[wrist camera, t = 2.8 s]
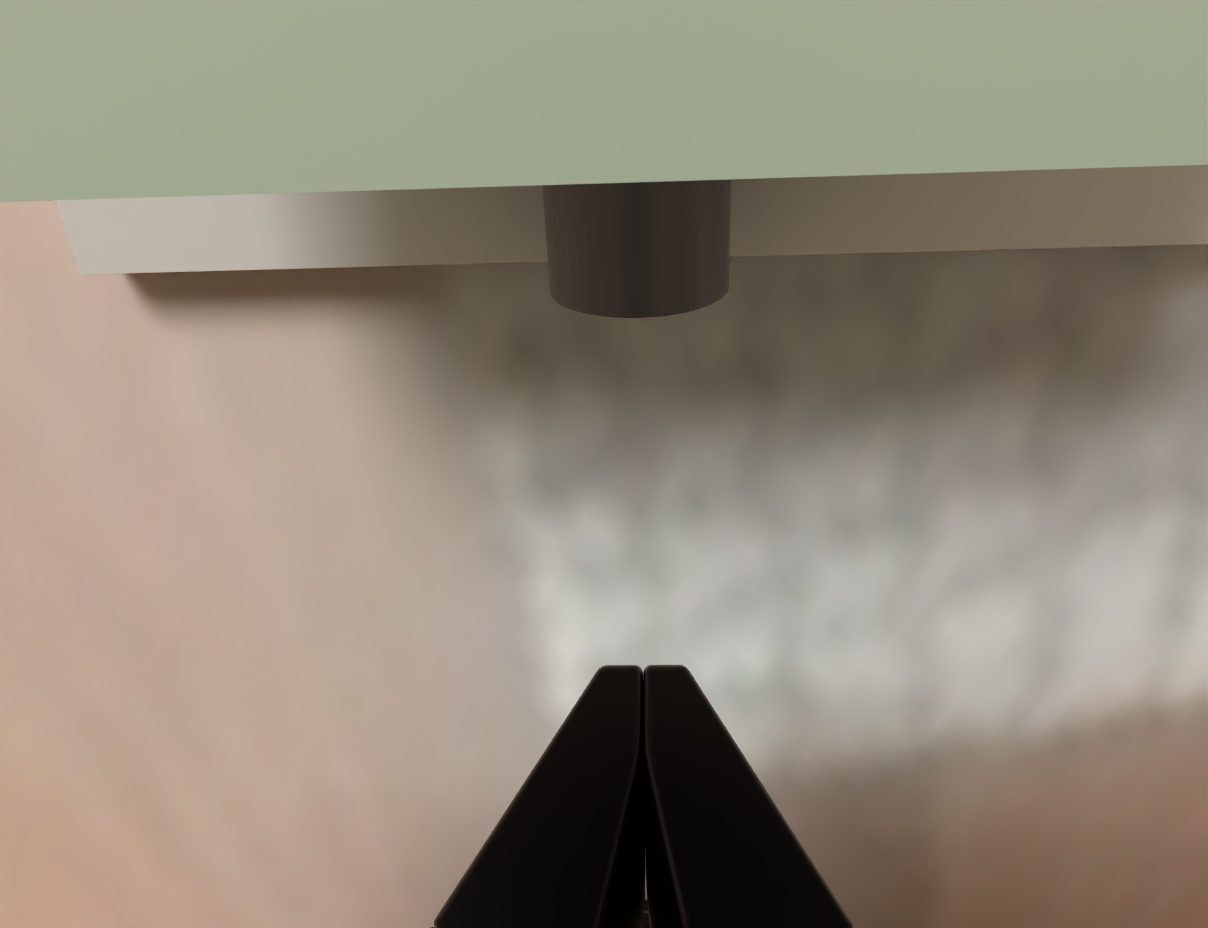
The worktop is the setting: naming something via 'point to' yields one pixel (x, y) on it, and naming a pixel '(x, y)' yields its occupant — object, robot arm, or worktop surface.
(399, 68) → the green block
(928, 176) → the board
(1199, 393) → the worktop surface
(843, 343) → the worktop surface
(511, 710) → the worktop surface
